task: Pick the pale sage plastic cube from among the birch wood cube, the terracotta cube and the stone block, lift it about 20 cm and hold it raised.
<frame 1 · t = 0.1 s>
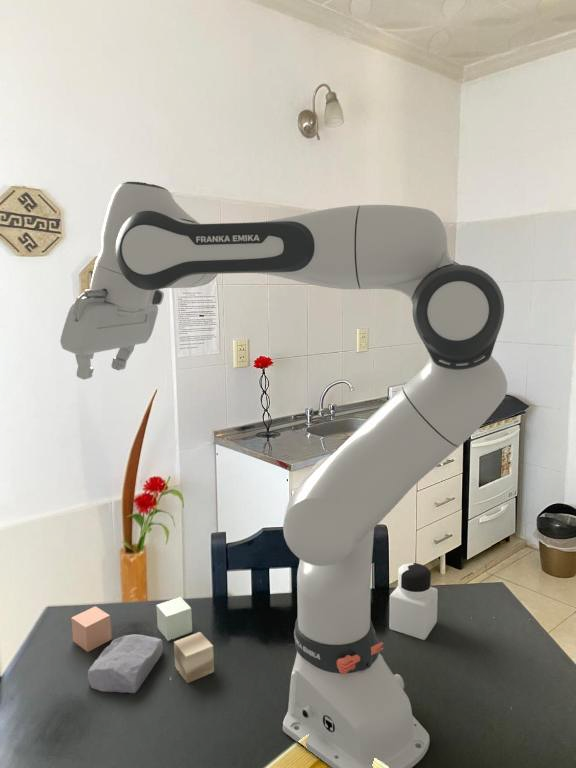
hand: (101, 373, 92), 52 cm above the table, tool tilted 20°, fingers open, 8 cm apart
sage cube: (175, 630, 111), on the table
terracotta cube: (92, 640, 109), on the table
stone block: (125, 671, 100), on the table
birch cube: (194, 670, 100), on the table
medicine bottle: (413, 626, 111), on the table
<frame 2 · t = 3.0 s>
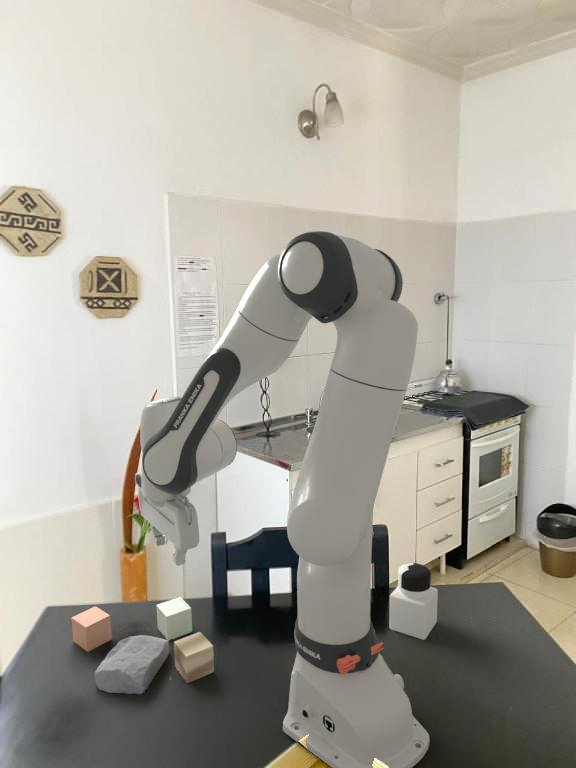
hand: (169, 553, 109), 16 cm above the table, tool pointing down, fingers open, 8 cm apart
stone block: (131, 672, 100), on the table
everything else where it was.
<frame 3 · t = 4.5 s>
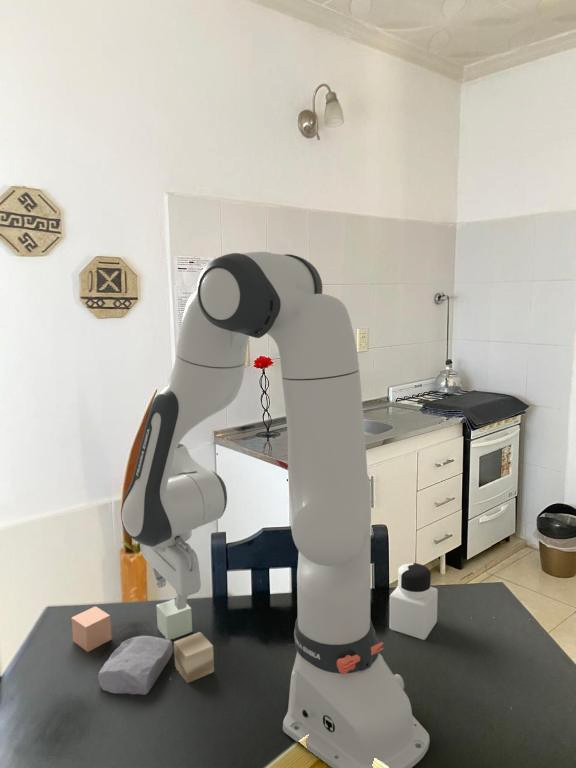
hand: (170, 596, 110), 7 cm above the table, tool pointing down, fingers open, 8 cm apart
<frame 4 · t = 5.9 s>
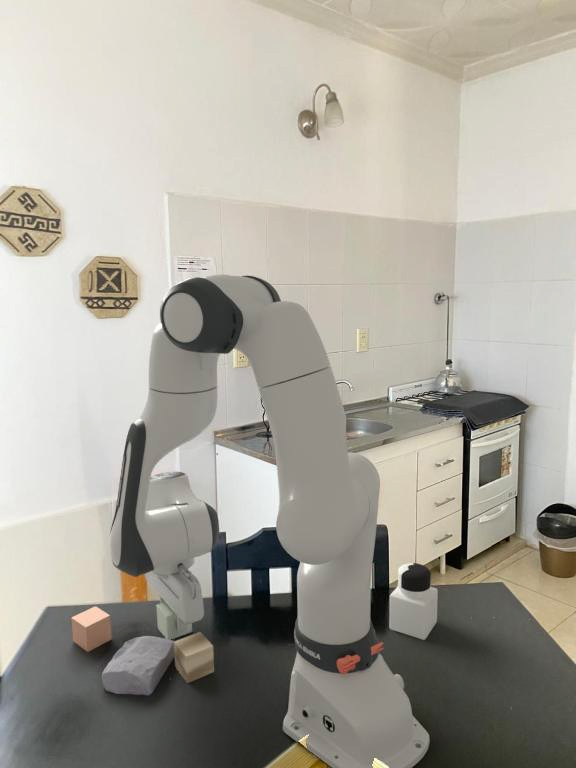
hand: (174, 622, 111), 2 cm above the table, tool pointing down, fingers closed on sage cube, 5 cm apart
sage cube: (175, 630, 111), on the table, touching gripper
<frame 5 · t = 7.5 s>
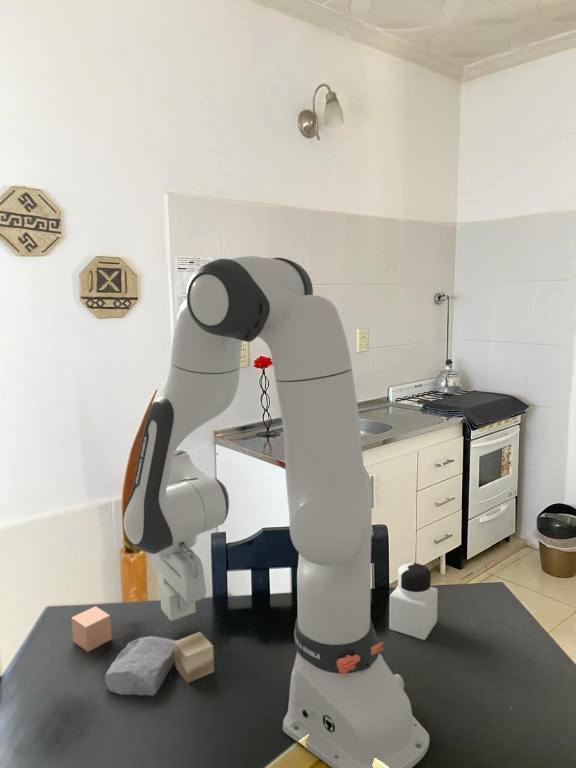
hand: (177, 602, 111), 5 cm above the table, tool pointing down, fingers closed on sage cube, 5 cm apart
sage cube: (178, 610, 111), point 4 cm above the table, touching gripper
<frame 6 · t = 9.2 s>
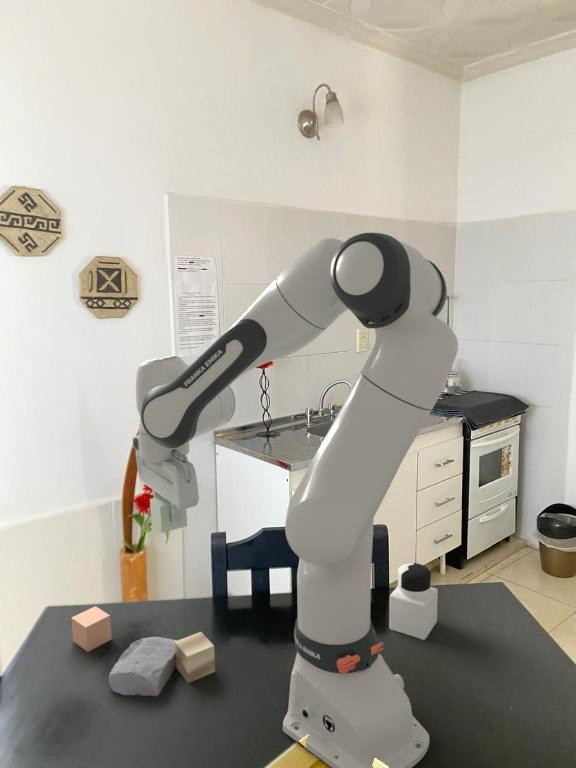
hand: (168, 516, 108), 23 cm above the table, tool pointing down, fingers closed on sage cube, 5 cm apart
sage cube: (169, 525, 108), point 21 cm above the table, touching gripper
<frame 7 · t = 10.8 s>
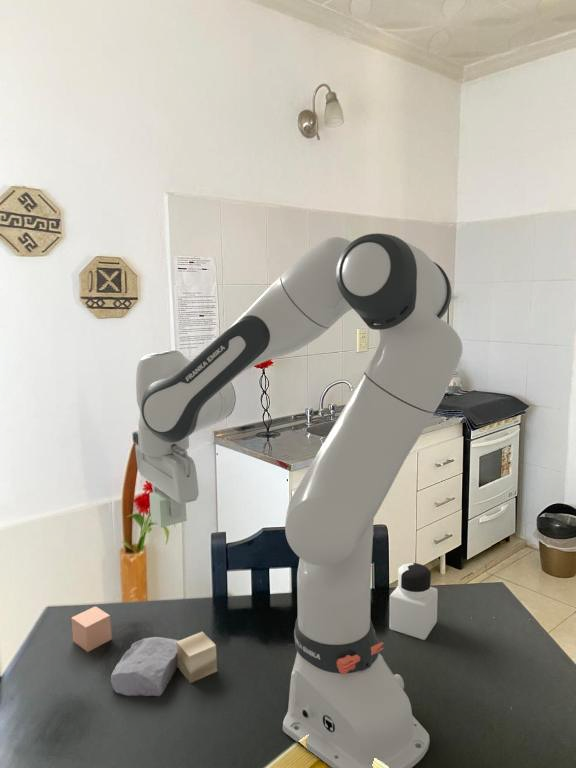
hand: (168, 511, 107), 24 cm above the table, tool pointing down, fingers closed on sage cube, 5 cm apart
sage cube: (168, 519, 108), point 22 cm above the table, touching gripper
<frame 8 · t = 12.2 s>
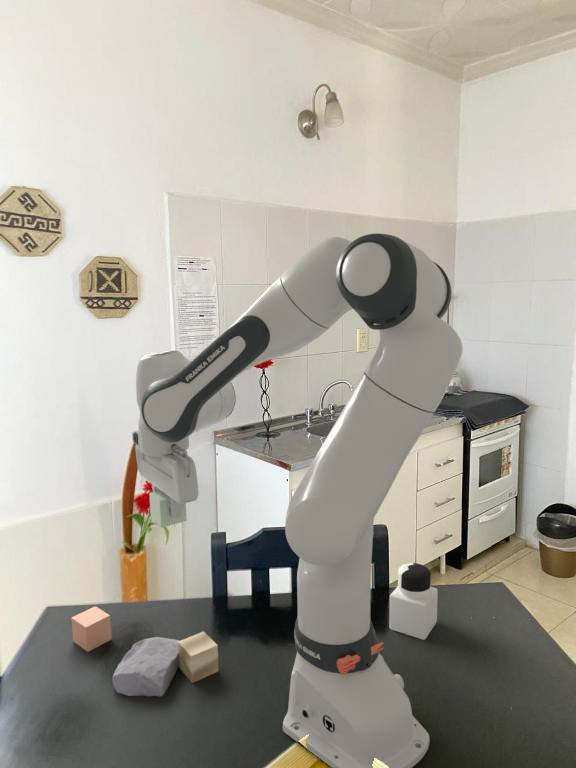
hand: (168, 511, 107), 24 cm above the table, tool pointing down, fingers closed on sage cube, 5 cm apart
sage cube: (168, 519, 108), point 22 cm above the table, touching gripper
at the end: the gripper is holding sage cube; sage cube point 22.4 cm above the table; birch cube moved 0.8 cm from its start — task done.
